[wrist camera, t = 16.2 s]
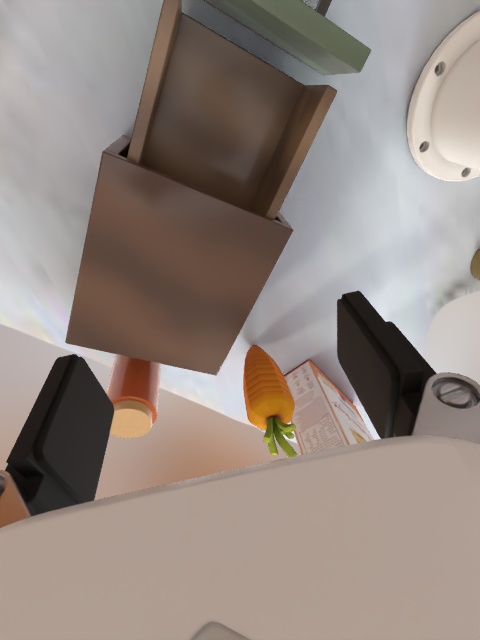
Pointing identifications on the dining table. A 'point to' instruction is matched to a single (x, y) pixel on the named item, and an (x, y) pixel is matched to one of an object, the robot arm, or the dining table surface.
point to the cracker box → (322, 412)
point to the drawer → (238, 99)
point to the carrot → (268, 399)
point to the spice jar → (133, 395)
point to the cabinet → (168, 267)
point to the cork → (476, 265)
